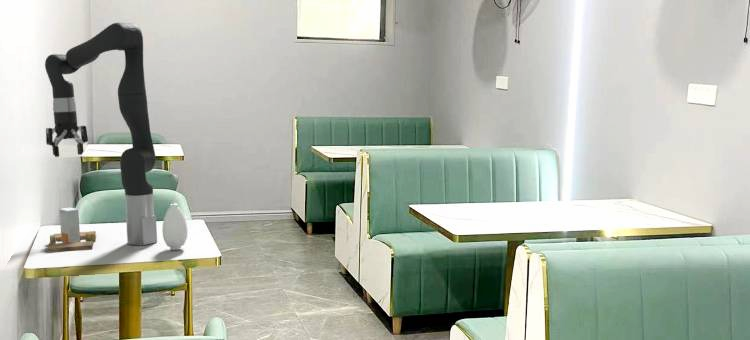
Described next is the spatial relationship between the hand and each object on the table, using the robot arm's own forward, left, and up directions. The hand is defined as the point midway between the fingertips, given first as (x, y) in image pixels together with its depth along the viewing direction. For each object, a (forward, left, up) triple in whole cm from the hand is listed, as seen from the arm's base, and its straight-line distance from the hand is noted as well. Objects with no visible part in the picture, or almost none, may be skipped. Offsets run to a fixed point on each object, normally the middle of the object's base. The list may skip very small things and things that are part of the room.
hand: (68, 155), depth 267 cm
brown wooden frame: (-11, +8, -29) cm, 32 cm away
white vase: (-50, -3, -29) cm, 58 cm away
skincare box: (-11, +9, -29) cm, 33 cm away
